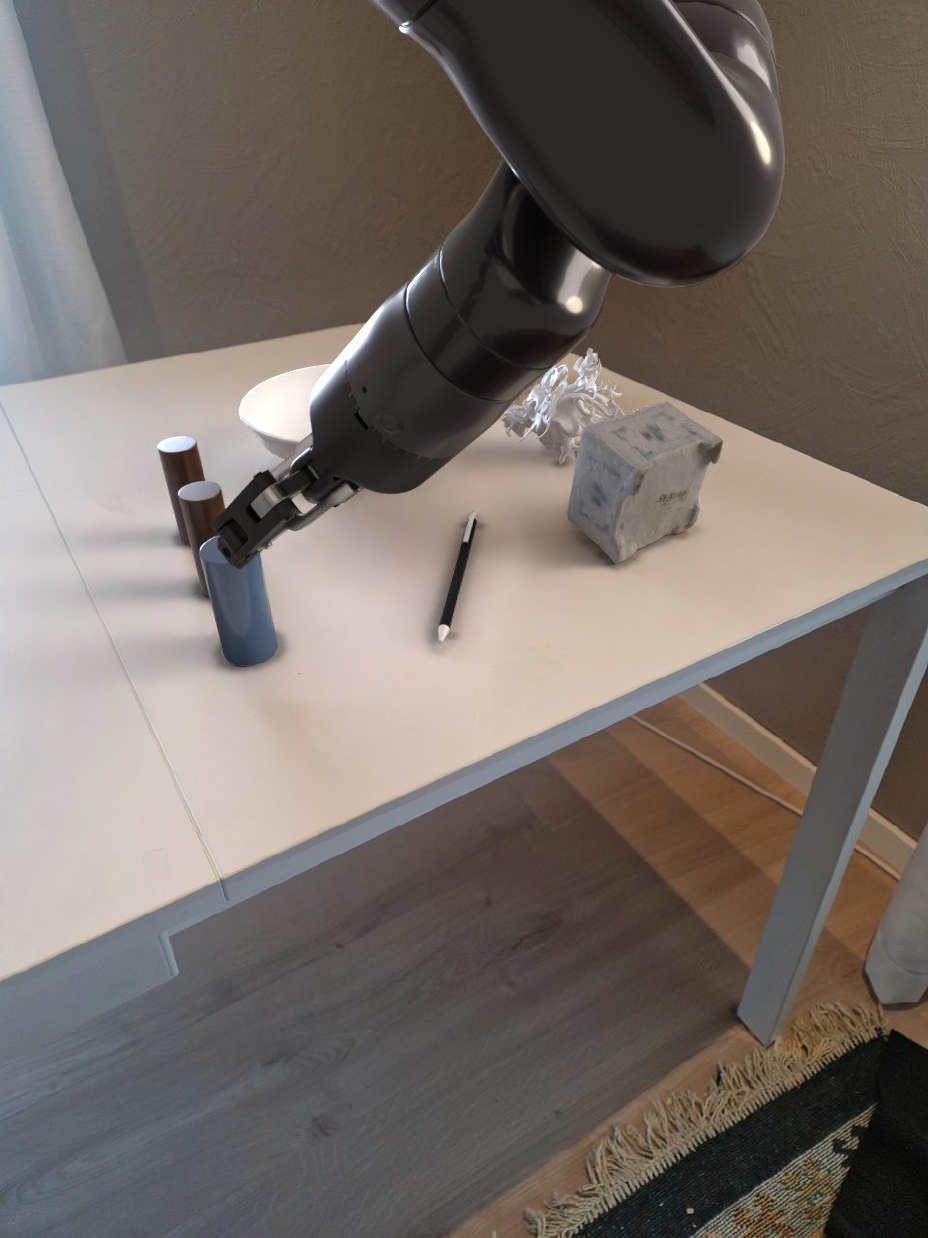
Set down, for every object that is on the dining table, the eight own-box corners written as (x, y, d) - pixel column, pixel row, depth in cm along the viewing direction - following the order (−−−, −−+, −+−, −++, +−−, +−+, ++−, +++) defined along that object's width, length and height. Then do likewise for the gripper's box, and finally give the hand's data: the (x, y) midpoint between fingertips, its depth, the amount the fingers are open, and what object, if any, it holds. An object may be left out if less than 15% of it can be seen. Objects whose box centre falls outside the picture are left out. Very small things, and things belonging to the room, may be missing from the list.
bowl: (472, 434, 93) (472, 377, 89) (383, 522, 79) (378, 458, 75) (317, 405, 100) (310, 351, 96) (209, 481, 86) (195, 421, 82)
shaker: (230, 672, 63) (205, 569, 57) (218, 641, 65) (193, 541, 60) (284, 656, 64) (265, 554, 58) (269, 627, 67) (250, 527, 61)
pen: (479, 517, 79) (479, 506, 78) (446, 648, 64) (445, 636, 63) (469, 516, 79) (469, 506, 79) (434, 647, 64) (433, 635, 64)
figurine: (499, 398, 94) (560, 308, 87) (610, 468, 97) (677, 386, 91) (491, 451, 84) (559, 353, 77) (616, 526, 87) (691, 439, 81)
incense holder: (625, 572, 72) (638, 459, 66) (562, 529, 77) (569, 421, 71) (709, 537, 76) (729, 427, 70) (644, 498, 82) (658, 393, 75)
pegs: (206, 602, 70) (182, 504, 64) (177, 531, 78) (154, 440, 73) (245, 592, 71) (225, 495, 65) (212, 523, 79) (192, 432, 74)
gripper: (455, 284, 46) (320, 432, 58) (265, 369, 37) (152, 524, 49) (537, 399, 47) (387, 521, 59) (372, 511, 38) (234, 629, 50)
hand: (280, 522), depth 54 cm, fingers open, 8 cm apart
